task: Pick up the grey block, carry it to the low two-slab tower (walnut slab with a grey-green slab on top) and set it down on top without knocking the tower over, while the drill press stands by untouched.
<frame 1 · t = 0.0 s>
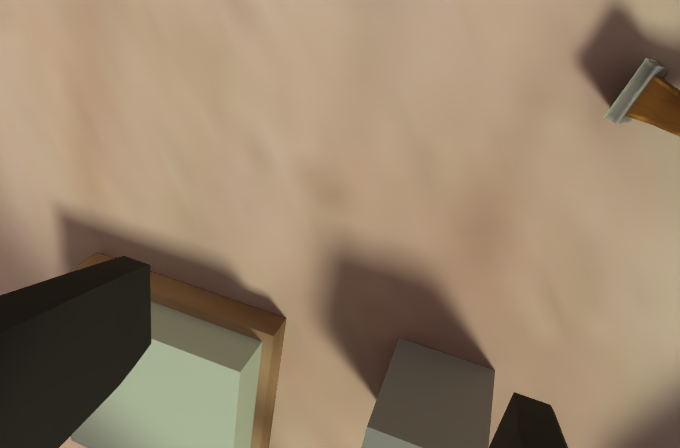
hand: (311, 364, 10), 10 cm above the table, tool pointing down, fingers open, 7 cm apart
grey-green slab: (170, 381, 25), point 1 cm above the table, touching walnut slab
grey block: (434, 387, 22), on the table
walnut slab: (193, 355, 27), on the table, touching grey-green slab
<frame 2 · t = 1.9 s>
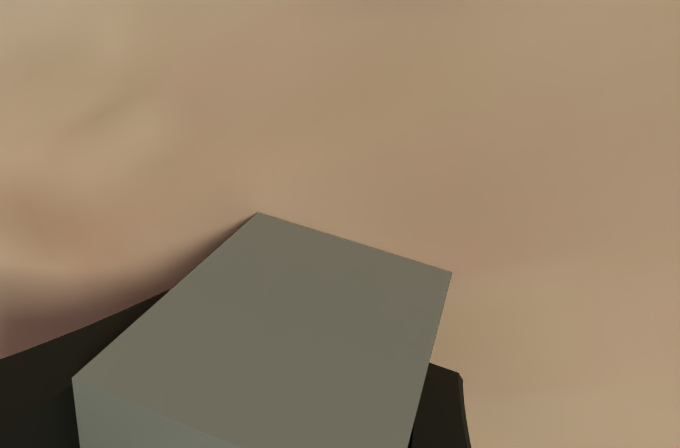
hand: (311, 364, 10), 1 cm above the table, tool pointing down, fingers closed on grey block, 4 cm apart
grey block: (335, 321, 11), on the table, touching gripper
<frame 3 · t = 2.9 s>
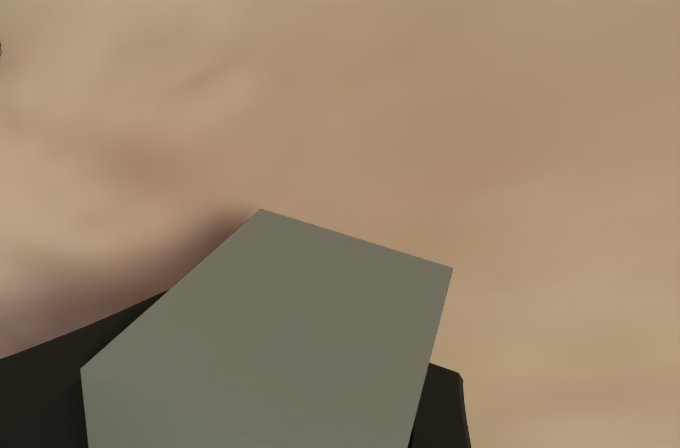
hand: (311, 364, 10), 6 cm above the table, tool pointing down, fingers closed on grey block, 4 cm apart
grey block: (337, 316, 11), point 4 cm above the table, touching gripper
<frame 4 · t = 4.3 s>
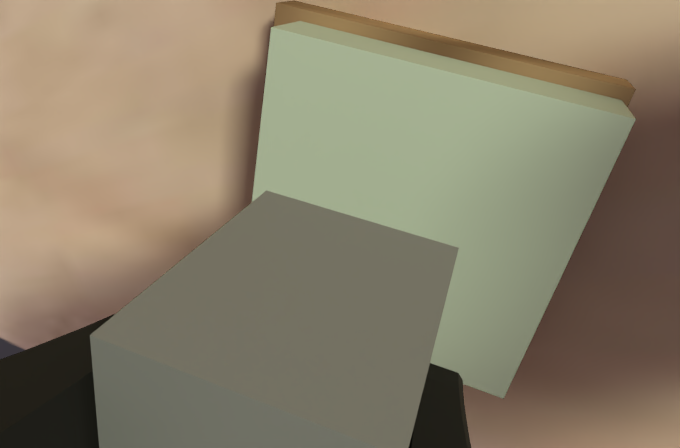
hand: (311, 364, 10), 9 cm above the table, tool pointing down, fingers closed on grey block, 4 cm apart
grey-green slab: (411, 202, 16), point 1 cm above the table, touching walnut slab
grey block: (342, 299, 11), point 7 cm above the table, touching gripper
walnut slab: (412, 182, 18), on the table, touching grey-green slab
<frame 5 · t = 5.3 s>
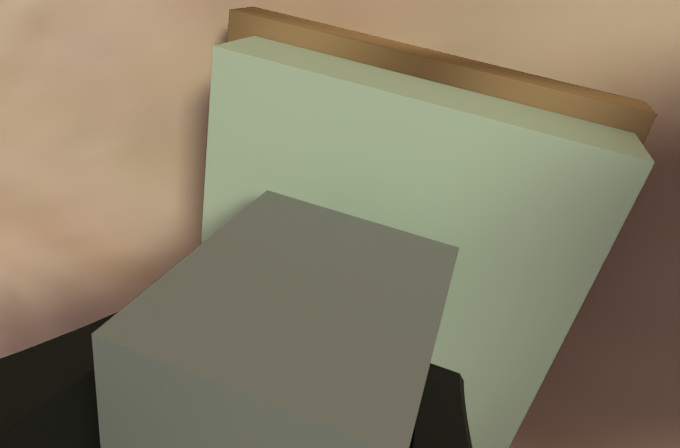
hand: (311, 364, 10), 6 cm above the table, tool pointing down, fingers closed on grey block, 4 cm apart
grey-green slab: (387, 245, 14), point 1 cm above the table, touching walnut slab
grey block: (342, 299, 11), point 5 cm above the table, touching gripper
walnut slab: (394, 214, 16), on the table, touching grey-green slab
when the fingers open (6 cm above the table, at t = 5.3 s): grey block drops 1 cm, resting on grey-green slab.
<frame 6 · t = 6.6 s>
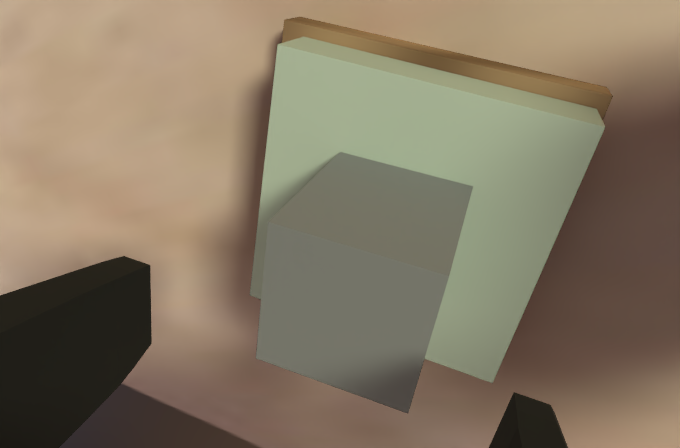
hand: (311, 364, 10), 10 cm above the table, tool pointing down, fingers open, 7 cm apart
grey-green slab: (406, 202, 18), point 1 cm above the table, touching grey block, walnut slab
grey block: (391, 227, 16), point 3 cm above the table, touching grey-green slab
walnut slab: (411, 183, 20), on the table, touching grey-green slab
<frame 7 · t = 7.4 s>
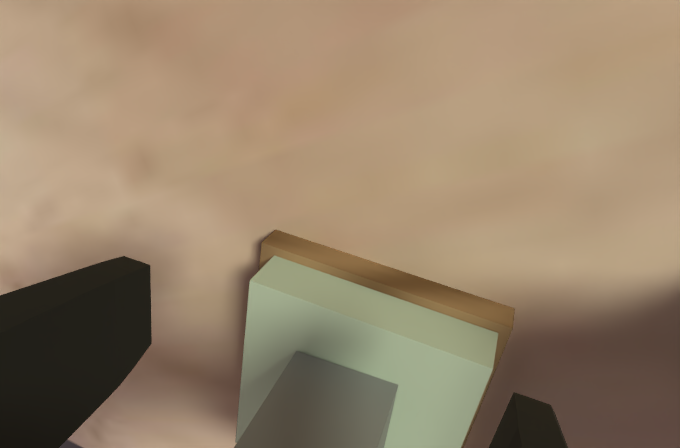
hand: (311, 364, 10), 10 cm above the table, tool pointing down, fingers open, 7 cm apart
grey-green slab: (359, 377, 22), point 1 cm above the table, touching walnut slab
grey block: (339, 406, 20), point 3 cm above the table
walnut slab: (370, 349, 24), on the table, touching grey-green slab
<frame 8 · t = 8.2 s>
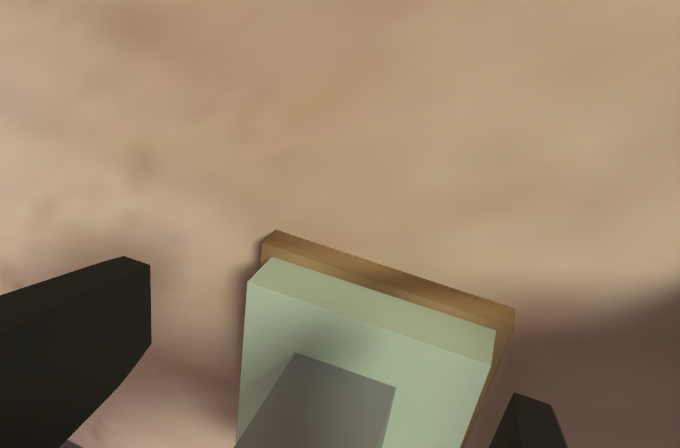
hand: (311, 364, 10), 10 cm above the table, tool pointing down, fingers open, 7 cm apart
grey-green slab: (359, 377, 22), point 1 cm above the table, touching grey block, walnut slab
grey block: (338, 407, 20), point 3 cm above the table, touching grey-green slab
walnut slab: (370, 349, 24), on the table, touching grey-green slab
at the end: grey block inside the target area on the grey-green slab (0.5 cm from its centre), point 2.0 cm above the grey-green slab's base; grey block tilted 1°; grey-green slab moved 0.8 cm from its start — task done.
